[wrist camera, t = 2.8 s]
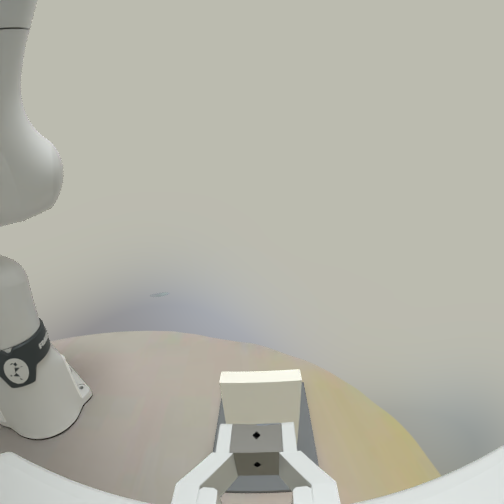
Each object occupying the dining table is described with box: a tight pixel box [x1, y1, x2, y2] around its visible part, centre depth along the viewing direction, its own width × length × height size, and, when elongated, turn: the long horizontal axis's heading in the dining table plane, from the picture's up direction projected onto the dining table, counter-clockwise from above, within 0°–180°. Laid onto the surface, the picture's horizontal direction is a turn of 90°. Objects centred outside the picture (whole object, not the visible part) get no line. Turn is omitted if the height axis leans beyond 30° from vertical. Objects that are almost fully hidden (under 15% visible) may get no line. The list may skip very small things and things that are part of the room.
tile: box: [219, 369, 302, 444], centre depth 25 cm, size 2×7×13 cm, turn 88°
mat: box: [213, 382, 319, 493], centre depth 31 cm, size 19×12×1 cm, turn 179°
